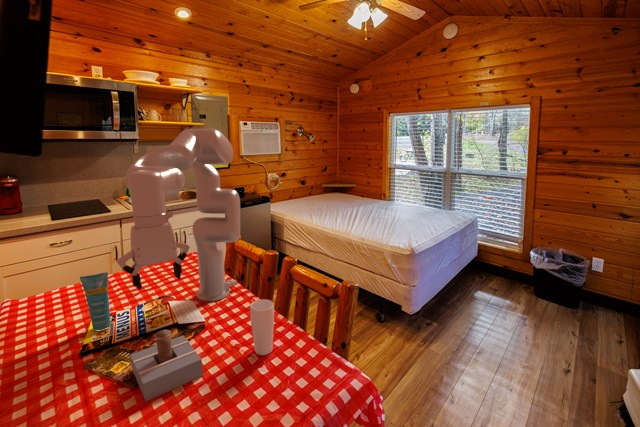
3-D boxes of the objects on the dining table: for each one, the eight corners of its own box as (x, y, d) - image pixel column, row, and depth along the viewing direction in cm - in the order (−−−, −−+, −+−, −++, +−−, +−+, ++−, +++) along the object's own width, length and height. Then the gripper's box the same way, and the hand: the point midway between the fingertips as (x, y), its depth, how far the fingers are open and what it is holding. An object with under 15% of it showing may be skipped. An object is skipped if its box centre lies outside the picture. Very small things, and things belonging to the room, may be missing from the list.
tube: (88, 335, 108) (79, 279, 103) (89, 328, 111) (79, 274, 107) (116, 328, 112) (107, 274, 107) (115, 321, 115) (107, 269, 111)
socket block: (184, 350, 100) (183, 334, 99) (202, 375, 90) (201, 358, 89) (132, 370, 92) (130, 353, 90) (145, 401, 81) (143, 382, 80)
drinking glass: (278, 346, 102) (277, 301, 99) (268, 360, 96) (266, 312, 93) (259, 341, 105) (257, 297, 101) (247, 354, 98) (245, 308, 95)
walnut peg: (172, 366, 93) (167, 328, 90) (176, 373, 91) (172, 334, 88) (158, 372, 91) (153, 332, 88) (162, 379, 88) (157, 339, 86)
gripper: (180, 211, 93) (186, 269, 97) (108, 222, 82) (118, 287, 86) (190, 217, 88) (196, 277, 92) (114, 230, 77) (125, 298, 81)
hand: (158, 282), depth 89 cm, fingers open, 9 cm apart
